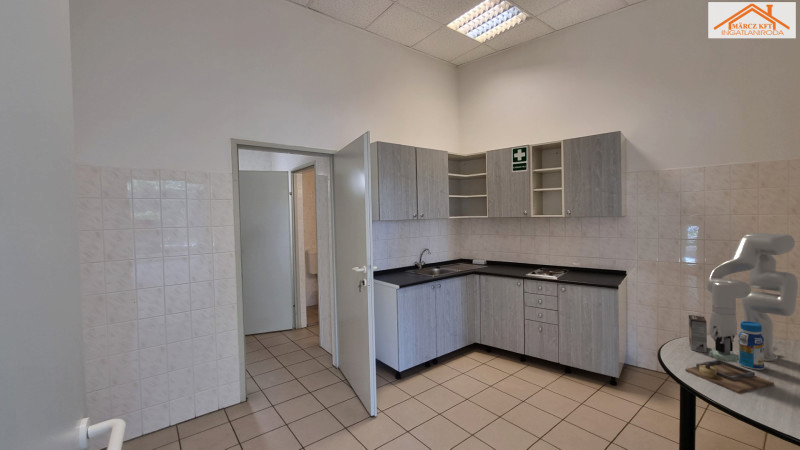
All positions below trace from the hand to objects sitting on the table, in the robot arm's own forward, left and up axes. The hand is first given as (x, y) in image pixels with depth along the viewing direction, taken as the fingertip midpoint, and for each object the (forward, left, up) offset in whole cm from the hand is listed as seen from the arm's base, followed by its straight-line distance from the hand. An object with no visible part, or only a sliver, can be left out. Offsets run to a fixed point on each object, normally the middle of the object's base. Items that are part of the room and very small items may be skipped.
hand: (724, 350), depth 151 cm
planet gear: (0, 0, -3) cm, 3 cm away
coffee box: (-17, -23, -11) cm, 31 cm away
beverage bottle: (-18, -1, -11) cm, 21 cm away
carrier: (+3, +3, -10) cm, 11 cm away
